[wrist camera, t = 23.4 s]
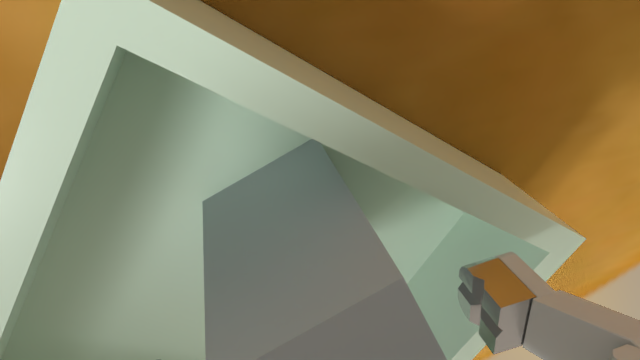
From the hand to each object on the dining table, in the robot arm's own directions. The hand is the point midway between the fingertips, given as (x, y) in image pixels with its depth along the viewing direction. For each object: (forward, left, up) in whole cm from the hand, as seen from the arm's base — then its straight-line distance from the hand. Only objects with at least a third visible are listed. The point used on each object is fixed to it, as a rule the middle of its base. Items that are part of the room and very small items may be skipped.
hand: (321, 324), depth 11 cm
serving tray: (-4, 0, -6) cm, 7 cm away
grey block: (0, 0, -5) cm, 5 cm away
